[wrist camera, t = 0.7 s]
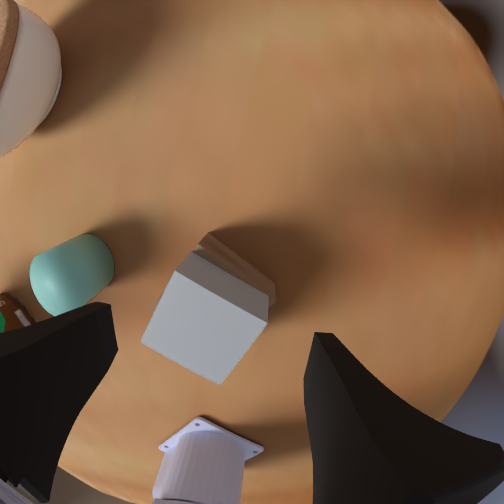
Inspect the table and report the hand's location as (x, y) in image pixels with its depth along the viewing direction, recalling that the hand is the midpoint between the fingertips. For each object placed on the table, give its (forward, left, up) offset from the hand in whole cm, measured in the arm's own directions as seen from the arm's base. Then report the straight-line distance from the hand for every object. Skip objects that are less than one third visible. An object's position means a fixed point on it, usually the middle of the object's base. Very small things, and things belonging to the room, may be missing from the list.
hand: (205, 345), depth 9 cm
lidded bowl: (0, +23, -10) cm, 25 cm away
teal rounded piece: (-8, +9, -10) cm, 15 cm away
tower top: (-3, 0, -7) cm, 7 cm away
